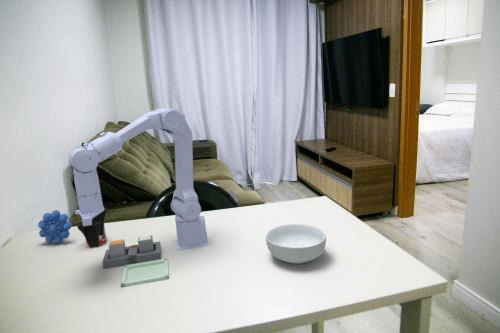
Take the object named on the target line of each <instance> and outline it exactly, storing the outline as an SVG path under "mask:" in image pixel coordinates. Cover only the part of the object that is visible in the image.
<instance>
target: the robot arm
mask: <svg viewBox="0 0 500 333" xmlns="http://www.w3.org/2000/svg"><path fill="white" fill-rule="evenodd" d="M187 122H188V121H187V120H186V115H185V114H183V113H182V112H181V111H180V110H178V109H177V108H173V107H169V108H166V107H164V108H163V107H157V108H155V109H154V110H151V111H148V112H146V113H145V114H143V115H142V116H140V117H138V118H137V119H136V120H134V121H132V122H131V123H130V124H127V125H126V126H124V127H123V128H122V129H120V130H119V131H116V132H112V131H108V132H105V131H104V132H103V131H102V132H101V133H98V134H99V137H98V138H96V139H93V140H92V141H90V142H89V143H88V142H85V143H83V144H82V145H83V147H77V148H75V149H73V151H71V152H70V155H69V159H68V163H69V165H70V166H71V167H73V176H74V179H73V180H74V185H75V187H74V188H75V193H76V198H77V203H78V209H77V210H76V209H75V211H74V215H79V216H80V217H81V222H78V223H77V225H76V227H77V230H79V231H80V232H81V233H82V236H84V238H85V241H86V240H87V243H88V245H87V246H89V248H90V249H91V248H98V247H99V236H100V235H103V233H104V226H105V217H106V215H107V212H108V209H107V207H104V204H103V203H104V202H103V198H102V192H101V186H100V180H99V175H98V171H97V167H98V165H99V163H102V162H103V161H105V160H107V159H108V158H110V157H112V156H113V155H115V154H116V153H118V152H119V151H122V148H123V145H124V144H125V142H128V141H130V140H131V139H133V138H135V137H137V136H138V135H141V134H142V133H144V132H145V131H148V130H161V131H163V132H166V133H167V134H168V135H169V136H170V137H171V138H173V140H174V162H175V167H174V168H175V169H174V170H175V190H174V191H173V194H172V195H173V196H172V200H171V203H170V209H171V211H172V212H173V213H175V214H174V216H175V217H174V219H175V228H176V231H175V232H176V250H177V251H183V250H189V249H194V248H195V249H196V248H201V247H206V246H208V233H207V226H206V225H207V224H206V219H205V216H204V215H201V213H202V207H201V205H200V202H199V197H198V194H197V192H196V191H195V188H194V160H193V159H194V156H193V151H194V150H193V149H194V148H193V132H192V130H191V127H190V126H189V124H188V123H187ZM87 243H86V244H87Z"/></svg>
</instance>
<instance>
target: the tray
mask: <svg viewBox="0 0 500 333" xmlns="http://www.w3.org/2000/svg"><path fill="white" fill-rule="evenodd" d="M123 266H124V267H123V271H122V276H121V280H120V288H126V287H130V286H137V285H142V284H148V283H153V282H154V283H155V282H159V281H165V280H169V279H170V275H169V259H168V258H161V259H159V260H153V261H147V262H141V263H135V264H129V265H123Z"/></svg>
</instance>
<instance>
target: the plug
mask: <svg viewBox="0 0 500 333" xmlns="http://www.w3.org/2000/svg"><path fill="white" fill-rule="evenodd" d="M126 247H127V246H126V241H125V238H124V239H123V238H122V239H116V240H110V241H109V243H108V249H109V253H110V258H116V257H122V256H128V255H127V254H126Z"/></svg>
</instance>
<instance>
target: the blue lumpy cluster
mask: <svg viewBox="0 0 500 333" xmlns="http://www.w3.org/2000/svg"><path fill="white" fill-rule="evenodd" d="M72 227H73V224H72V222H71V221H69V216H68V214H66V213H61V212H60V211H59V210H53V211H52V212H51V213H50V212H46V213H44V214H43V216H42V220H40V221H39V222H38V229H40V230H39V232H38V234H39V235H38V236H39V237H41V238H44V240H45V243H46V244H51V243H54V244H56V245H58V244H61V243H62V242H63V240H64V239H68V238H69V237H70V234H71V233H70V231H69V230H71V228H72Z"/></svg>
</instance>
